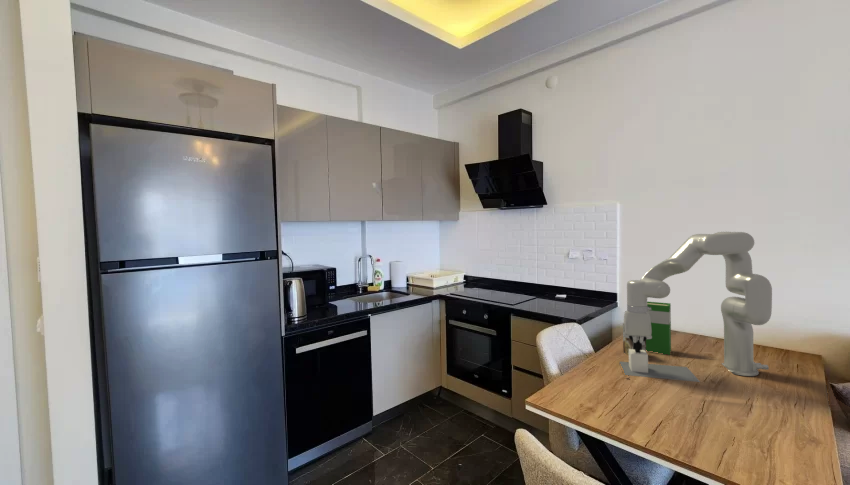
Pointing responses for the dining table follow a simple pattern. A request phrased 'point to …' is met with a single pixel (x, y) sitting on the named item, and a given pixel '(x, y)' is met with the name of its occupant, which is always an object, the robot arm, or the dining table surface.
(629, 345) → the coffee box
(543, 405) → the dining table surface
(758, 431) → the dining table surface
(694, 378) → the board
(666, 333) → the hardback book
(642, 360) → the small cream cube
